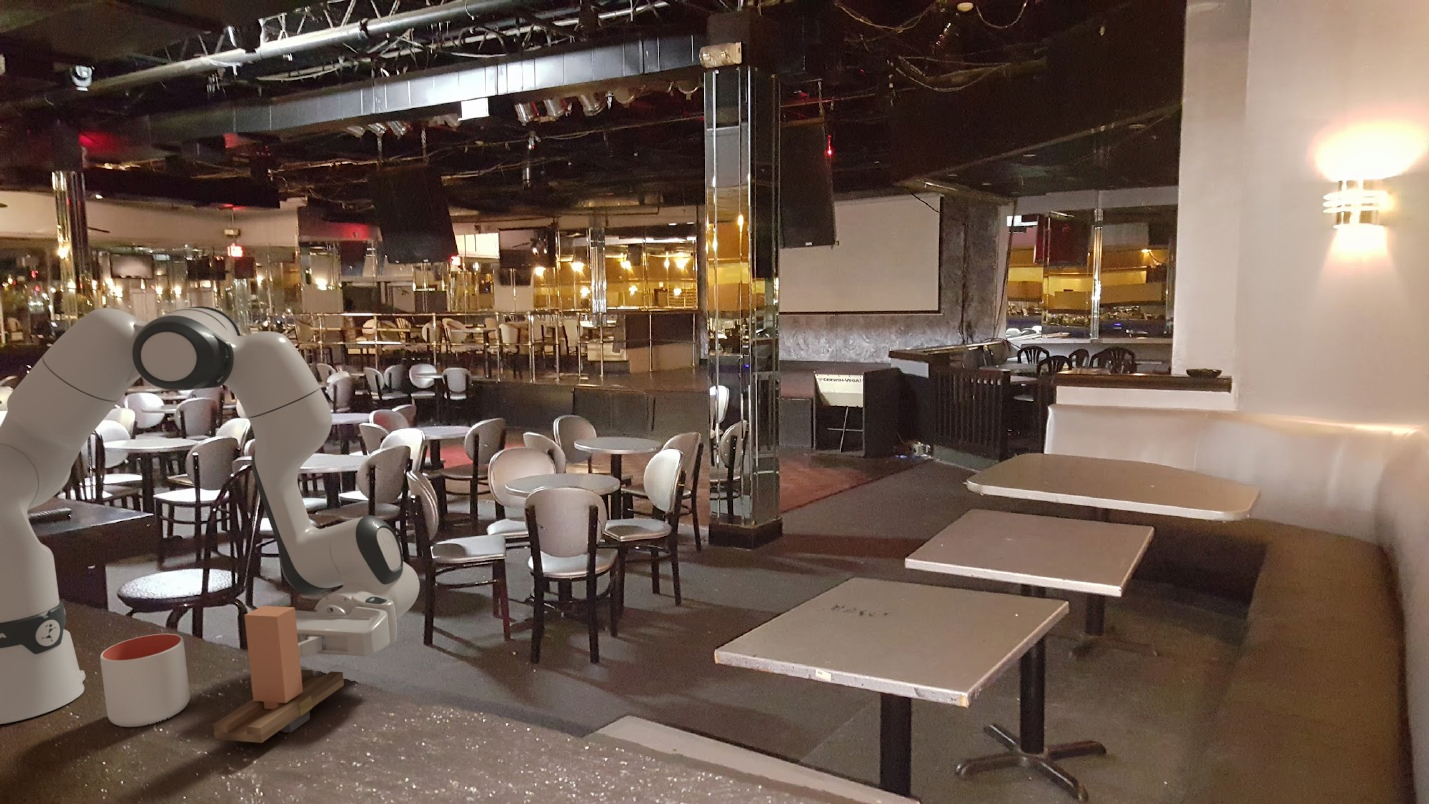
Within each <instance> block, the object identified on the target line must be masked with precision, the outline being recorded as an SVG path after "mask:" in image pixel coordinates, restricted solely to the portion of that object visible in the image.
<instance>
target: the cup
mask: <svg viewBox="0 0 1429 804" xmlns="http://www.w3.org/2000/svg"><path fill="white" fill-rule="evenodd" d="M185 649H186V648H185V643H184V638H183V636H181V635H178V634H174V633H158V634H157V633H156V634H149V635H144V636H139V637H138V636H137V637H134V638H130V639H127V640H123V641H121V642H118V643H116V644H114V645H111V646H110V647H108V648H106V649H105V650H103V651H102V652H101V654H99V656H100V657H99V660H100V667H101V674H102V683H103V690H104V699H105V706H106V715H107V718H108V720H109V721H110V722H111V723H112V724H113V725H116V726H119V727H124V728H136V727H144V726H149V725H153V724H156V722H157V723H160V722H163V721H165V720H167V718H168V719H170V718H172V717H174V716H175V715H177V714H179V713H180V712H181V711H183V710H184V709H185V708H186V707H187V706H188V703H189V701H190V699H191V696H190V695H191V694H190V687H189V686H190V685H189V677H188V669H187V667H188V666H187V660H186V651H185ZM162 720H163V721H162ZM159 721H160V722H159ZM148 724H149V725H148Z"/></svg>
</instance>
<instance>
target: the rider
mask: <svg viewBox="0 0 1429 804" xmlns="http://www.w3.org/2000/svg"><path fill="white" fill-rule="evenodd" d="M295 611H296V607H292V606H291V607H289V606H271V605H261V606H260V607H258V608H256V609H253V610H252V611H250V612H247V613H246V614H244V622H245V632H246V633H245V634H246V641H247V642H246V645H247V651H248V652H247V653H248V661H249V670H250V680H251V691H252V699H253V701H264V708H265V709H274V708H276V707H277V706H279V705H280V704H282V703H287V702H288V701H290V700H291V699H293V698H294V697H296V696H297V695H299V694H300V693H302V692H303V687H302V677H301V667H302V666H301V659H300V658H301V657H300V656H299V646H298V636H297V626H296V615H295Z"/></svg>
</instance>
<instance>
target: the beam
mask: <svg viewBox="0 0 1429 804" xmlns="http://www.w3.org/2000/svg"><path fill="white" fill-rule="evenodd" d="M313 671H314V670H313V669H301V677H302V687H303V692H302V693H300V694H299V695H297V696H296V697H294V698H293V699H291V700H290V701H288V702H287V703H282V704H280V705H279V706H277V707H276V708H274V709H265V708H264V701H253V698H252V699H251V700H249V701H247V702H246V703H245V704H243V705H241V706H240V707H238V708H236V709H235V710H233V711H232V712H229V714H227V715H225V716H224V717H222V718H220V719H219V720H218V721H216V722H214V723H213V724H212V725H213V734H214V740H225V741H237V742H248V743H259V744H262V743H264V742H265V741H266V740H268V739H269V738H270V737H272V736H275V734H277V733H278V731H287V732H286V733H292V732H294V731H295V730H296V729H298V728H300V727H301V726H302V725H304V724H305V723H306V722H308V721H309V720H310V719H311V715H310V713H311V712H310V710H312V709H313V708H314V707H315V706H316V705H318V704H319V703H321V702H323V700H325V699H326V698H328V697H329V696H331V695H333V694H334V693H335V692H336V691H338V690H339V689H341V688H342V687H344V686H345V685H344V683H345V682H344V673H343V671H333V670H332V671H331V670H330V671H329V672H327V673H326V674H325V675H323V676H314V672H313Z"/></svg>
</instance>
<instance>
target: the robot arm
mask: <svg viewBox="0 0 1429 804" xmlns="http://www.w3.org/2000/svg"><path fill="white" fill-rule="evenodd" d="M140 378H143V380H145V381H146V382H148V383H149V384H150V385H152V386H155V387H157V388H159V389H164V390H168V391H175V392H176V391H184V392H185V391H193V390H203V389H204V390H205V389H215V388H219V387H221V386H225V387H227V388H228V389H230V390H231V391H232V393H233V394H234V395H235V396H236V398H237V400H238V401H239V403H240V406H241V408H242V409H243V412H244V414H245V415H246V417H247V419H248V421H249V424H250V426H251V428H252V429H251V430H252V431H253V436H254V443H255V447H254V450H253V452H252V453H251V457H250V458H251V460H250V461H251V469H252V473H253V478H254V481H255V484H256V488H257V490H258V493H259V495H260V499H261V502H262V505H263V508H264V511H265V514H266V516H267V519H268V522H269V525H270V527H271V530H272V533H273V536H274V539H275V541H276V546H277V549H278V556H279V561H280V569H281V571H282V574H283V577H284V579H285V580H286V581H287V583H288V584H289V585H290V586H291V587H292V588H294V589H295V590H297V592H300V593H301V594H304V595H308V596H314V595H315V596H316V595H319V594H321V593H323V592H327V591H330V590H333V589H334V588H336V587H339V586H342V587H340V588H339V589H337V590H335V591H333V592H331V593H329V594H328V595H325V596H324V597H322V598H321V599H320V600H319V601H318V602H317V603H316V605H315V608H314V610H311V611H310V610H295V615H296V626H297V636H298V646H299V656H300V658H301V657H306V656H311V655H314V654H321V655H323V654H324V655H325V654H326V655H340V656H356V657H368V656H373V655H375V654H377V653H379V652H381V651H382V650H384V649H385V648H387V647H388V646H390V645H392V644H394V643H396V642H397V637H398V630H397V629H398V628H397V627H398V625H397V620H398V619H400V618H401V617H402V616H403V615H405V614H406V612H408V611H409V610H410V608H412V607H413V605H414V603H416V600H417V598H418V596H419V592H420V580H419V577H418V576H419V575H418V574H417V572H416V570H415V569H414V568H413V567H412V566H410V564H408V563H406V562H405V561H404V556H403V549H402V545H401V543H400V540H399V538H398V536H397V533H396V532H395V530H394V529H393V528H392V527H391V526H390V525H389V524H388V523H387V522H386V521H384V520H383V519H381V518H379V517H378V516H375V515H373V514H372V515H365V516H361V517H360V516H359V517H357V518H353V519H350V520H346V521H343V522H341V523H337V524H334V525H331V526H327V527H324V528H317V527H316V526H314V525H313V524H312V523H311V519H310V517H309V515H308V511H307V508H306V505H305V502H304V500H303V496H302V494H301V491H300V487H299V483H298V476H299V472H300V469H301V467H302V466H303V465H304V464H305V463H306V462H307V460H309V459H310V458H311V457H312V456H313V455H314V454H315V453H316V452H318V451H319V449H320V448H321V447H322V446H323V445H324V444H325V442H326V440H327V439H328V437H329V435H330V433H331V430H332V427H333V415H332V411H331V407H330V404H329V402H328V400H327V398H326V396H325V394H324V392H323V390H322V387H320V384H319V383H318V380H317V379H316V377H315V375H314V373H313V372H312V370H311V368H310V367H309V365H308V364H307V362H306V360H305V358H304V357H303V355H302V354H301V353H300V352H299V350H298V349H297V347H296V346H295V345H294V344H293V342H292V341H291V340H290V339H289V337H287V336H286V335H284V333H283V334H282V333H280V332H276V331H269V330H268V331H267V330H266V331H264V330H263V331H257V332H254V333H251V334H250V333H249V334H246V335H241V332H240V329H239V326H238V324H237V323H236V322H235V321H234V320H233V318H232V317H230V316H229V315H228V314H227V313H225V312H223V311H221V310H219V309H217V308H213V307H210V306H200V305H199V306H198V305H197V306H191V307H190V306H189V307H186V308H185V307H184V308H181V309H177V310H176V309H175V310H174V311H170V312H169V313H167V314H164V315H163V316H161V317H160V316H159V317H158V318H155V319H153V320H151V321H149V322H147V321H143V320H141V319H139V318H138V317H136V316H135V315H133V314H131V313H129V312H126V311H124V310H121V309H117V308H111V307H100V308H96V309H94V310H91V311H90V312H88V313H86V315H84V316H82V317H81V318H80V319H78V321H76V322H75V323H74V324H73V325H71V326H70V327H69V328H68V329H67V330H66V331H65V332H64V333H63V334H62V335H60V336H59V338H57V340H56V341H55V342H54V343H52V345H50V347H49V348H48V349H47V351H45V353H44V354H43V355H42V356H41V358H39V359H38V361H37V362H36V363H35V364H34V365H33V367H31V369H30V370H29V372H28V373H27V374H26V375H25V377H24V378H22V380H21V381H20V383H19V384H18V385H17V386H16V387H15V388H14V389H13V391H12V392H11V393H10V394H9V395H8V397H7V400H6V408H7V411H6V414H5V417H4V418H3V421H2V423H1V424H0V725H2V724H9V723H14V722H18V721H24V720H27V719H31V718H34V717H38V716H40V715H44V714H46V713H49V712H51V711H54V710H57V709H59V708H61V707H63V706H65V705H67V704H69V703H71V702H73V701H75V700H76V699H77V698H79V697H80V696H81V695H82V694H83V693H84V692H85V685H84V683H83V682H84V680H86V677H87V676H86V674H85V670H84V669H83V670H82V669H80V667H79V664H78V659H77V655H76V651H75V647H74V643H73V640H72V636H71V633H70V632H69V631H68V630H66V629H65V626H66V625H67V620H66V614H67V613H66V609H65V607H64V601H62V600H60V595H59V588H58V580H57V573H56V564H55V557H54V553H53V552H52V550H51V549H50V547H48V546H46V545H45V544H43V543H42V542H40V540H39V538H38V536H37V535H36V533H35V532H34V531H35V530H34V529H33V526H32V525H31V523H30V519H29V516H28V511H29V510H32V509H34V508H37V507H39V506H40V505H43V504H45V503H47V502H48V501H49V500H51V499H52V498H53V497H54V496H56V495H57V494H58V493H59V492H60V491H61V490H62V489H63V488H64V487H65V486H66V485H67V483H68V481H69V479H70V477H71V471H72V467H73V466H74V464H75V461H76V460H77V458H78V456H79V454H80V452H81V450H82V448H83V447H84V445H85V444H86V442H87V441H88V439H89V438H90V436H91V435H92V434H93V433H94V432H95V431H96V430H97V428H98V427H99V426H100V424H101V423H102V422H103V421H104V420H105V418H106V417H107V416H108V414H110V412H111V411H112V410H113V408H115V406H116V405H117V404H118V403H119V401H120V400H121V399H122V398H123V397H124V396H125V394H126V393H127V392H128V391H129V389H130V388H131V387H132V386H133V384H134V383H135V382H137V381H138V380H139V379H140Z"/></svg>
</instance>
